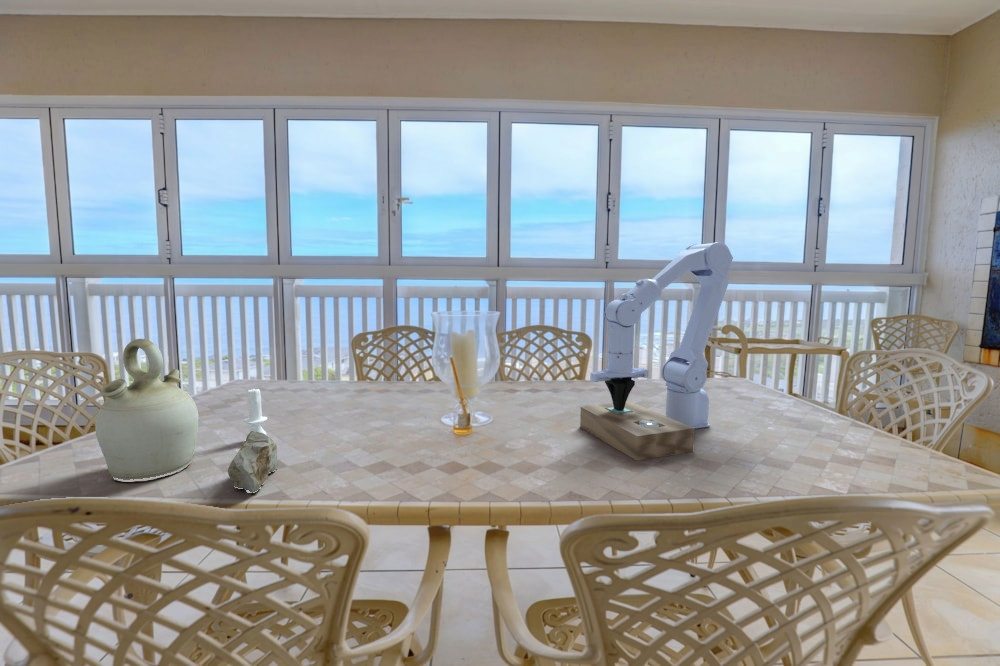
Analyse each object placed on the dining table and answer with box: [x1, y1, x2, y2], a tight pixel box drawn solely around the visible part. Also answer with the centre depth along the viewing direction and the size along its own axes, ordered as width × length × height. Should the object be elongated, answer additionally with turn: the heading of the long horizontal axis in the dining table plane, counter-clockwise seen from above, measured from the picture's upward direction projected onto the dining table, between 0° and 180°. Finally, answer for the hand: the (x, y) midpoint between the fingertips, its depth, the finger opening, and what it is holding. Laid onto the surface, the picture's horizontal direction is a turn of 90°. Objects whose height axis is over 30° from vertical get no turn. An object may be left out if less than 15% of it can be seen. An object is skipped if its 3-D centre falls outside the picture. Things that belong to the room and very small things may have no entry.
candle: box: [243, 388, 268, 437], centre depth 103 cm, size 5×5×12 cm
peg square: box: [607, 407, 631, 414], centre depth 109 cm, size 4×4×5 cm
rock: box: [227, 431, 279, 493], centre depth 82 cm, size 12×7×10 cm, turn 6°
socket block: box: [579, 401, 695, 462], centre depth 104 cm, size 14×22×5 cm, turn 20°
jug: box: [94, 338, 200, 480], centre depth 87 cm, size 15×16×25 cm
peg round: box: [639, 420, 659, 429], centre depth 99 cm, size 4×4×5 cm
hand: (618, 409), depth 109 cm, fingers closed, pressing on peg square
